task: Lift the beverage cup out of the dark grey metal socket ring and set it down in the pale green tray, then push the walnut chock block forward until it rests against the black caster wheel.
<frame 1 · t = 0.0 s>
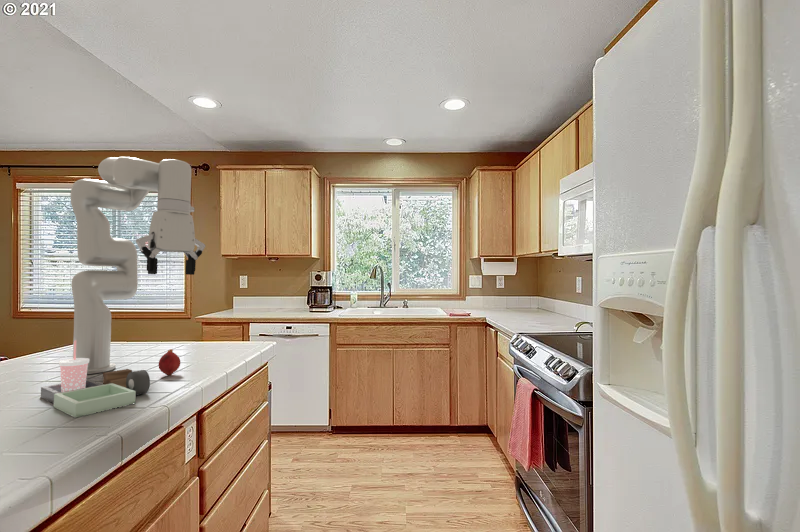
hand: (171, 274, 107), 31 cm above the countertop, tool pointing down, fingers open, 9 cm apart
tray: (95, 405, 97), on the countertop
onion: (169, 376, 126), on the countertop
caster wheel: (137, 394, 106), on the countertop
beverage cup: (73, 396, 104), resting in socket ring
socket ring: (73, 395, 104), on the countertop
chock: (119, 388, 112), on the countertop
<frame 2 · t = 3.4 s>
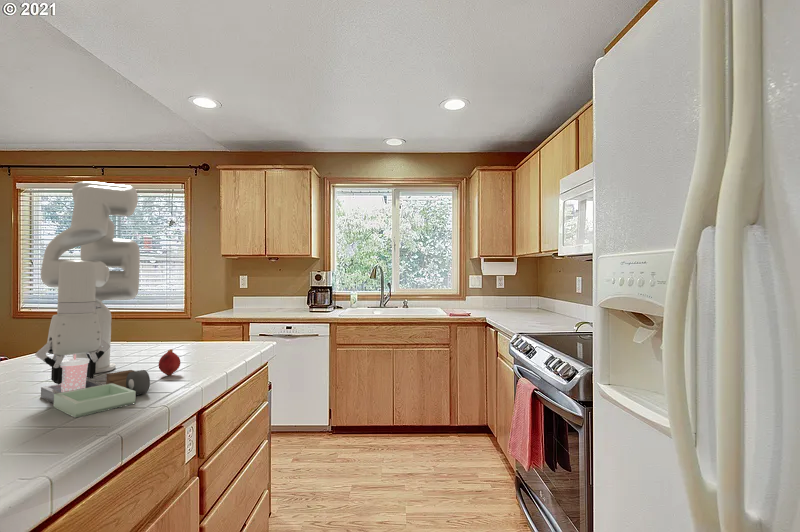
hand: (73, 379, 104), 4 cm above the countertop, tool pointing down, fingers closed on beverage cup, 6 cm apart
beverage cup: (73, 396, 104), resting in socket ring, touching gripper
chock: (122, 389, 111), on the countertop
everything else where it was.
when the fingers open (6 cm above the countertop, at t = 8.6 s): beverage cup drops 1 cm, resting on tray.
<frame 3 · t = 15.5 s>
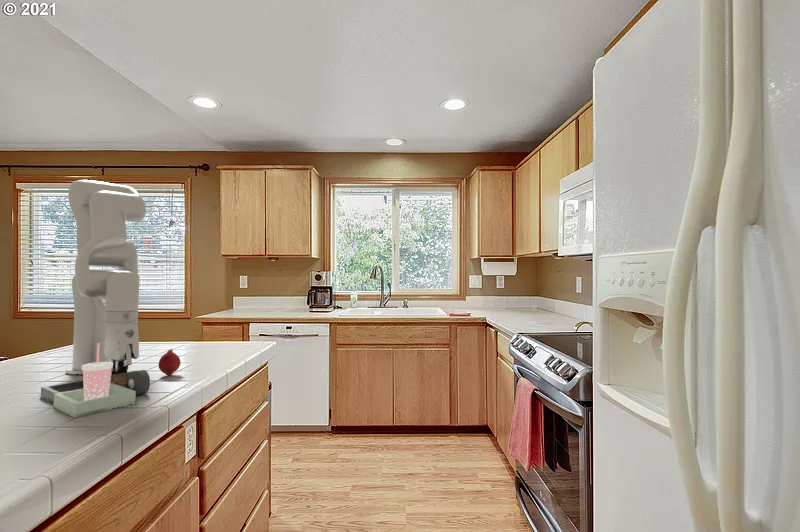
hand: (118, 384, 112), 1 cm above the countertop, tool pointing down, fingers closed
beverage cup: (96, 403, 97), resting on tray
chock: (128, 391, 110), on the countertop, touching caster wheel, gripper
everything else where it was.
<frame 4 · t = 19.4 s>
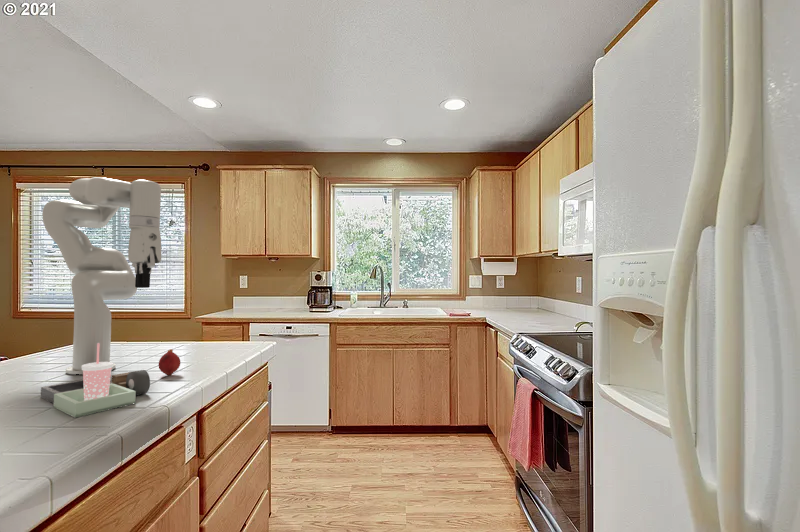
hand: (142, 287, 118), 27 cm above the countertop, tool pointing down, fingers closed
chock: (128, 391, 110), on the countertop
everything else where it was.
at the end: beverage cup inside the target area on the tray (0.2 cm from its centre), point 0.4 cm above the tray's base; beverage cup tilted 0°; chock 0.8 cm from the target spot on the countertop beside the caster wheel, on the countertop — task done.
